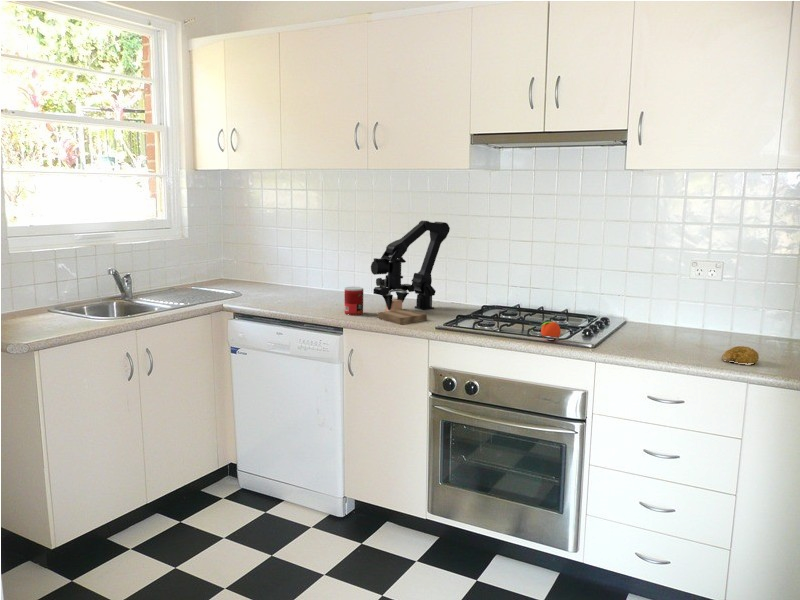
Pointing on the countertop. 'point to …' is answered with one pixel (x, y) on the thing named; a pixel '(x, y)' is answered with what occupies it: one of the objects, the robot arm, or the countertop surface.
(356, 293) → the canned food
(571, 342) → the countertop surface
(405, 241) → the robot arm
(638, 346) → the countertop surface
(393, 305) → the block
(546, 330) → the clementine
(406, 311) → the base board
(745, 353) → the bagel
